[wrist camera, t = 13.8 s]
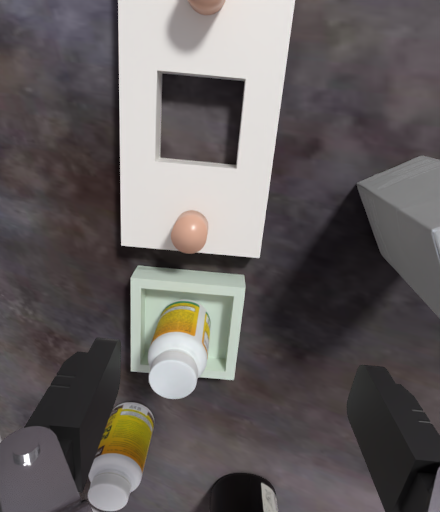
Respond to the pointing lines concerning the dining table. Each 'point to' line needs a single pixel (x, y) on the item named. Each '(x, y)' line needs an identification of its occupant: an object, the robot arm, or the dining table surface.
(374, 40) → the dining table surface
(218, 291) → the tray
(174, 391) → the supplement bottle
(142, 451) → the supplement bottle
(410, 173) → the skincare box
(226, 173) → the socket holder
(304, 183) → the dining table surface
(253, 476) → the black jar
